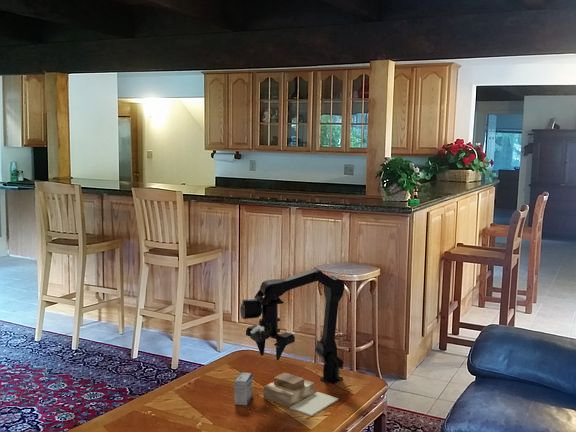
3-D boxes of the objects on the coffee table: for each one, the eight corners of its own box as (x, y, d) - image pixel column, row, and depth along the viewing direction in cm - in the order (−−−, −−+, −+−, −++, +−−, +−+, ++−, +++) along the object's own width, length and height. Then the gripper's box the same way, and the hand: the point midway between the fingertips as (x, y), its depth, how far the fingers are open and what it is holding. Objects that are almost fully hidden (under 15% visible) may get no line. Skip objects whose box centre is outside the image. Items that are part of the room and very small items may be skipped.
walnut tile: (273, 384, 215) (274, 377, 214) (284, 378, 219) (284, 372, 219) (293, 390, 209) (293, 384, 209) (304, 385, 214) (304, 378, 213)
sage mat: (317, 393, 217) (317, 391, 217) (338, 399, 211) (338, 398, 211) (290, 408, 204) (290, 407, 204) (311, 416, 199) (311, 414, 199)
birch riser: (288, 384, 224) (288, 374, 223) (314, 393, 216) (314, 382, 216) (263, 397, 213) (263, 386, 212) (290, 407, 206) (290, 395, 205)
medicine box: (246, 405, 206) (246, 381, 205) (234, 404, 207) (234, 380, 206) (252, 396, 214) (252, 372, 213) (240, 395, 215) (240, 371, 214)
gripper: (235, 316, 216) (235, 358, 218) (275, 326, 204) (275, 370, 206) (255, 309, 224) (256, 349, 226) (295, 318, 213) (295, 361, 215)
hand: (269, 357), depth 218 cm, fingers open, 7 cm apart
